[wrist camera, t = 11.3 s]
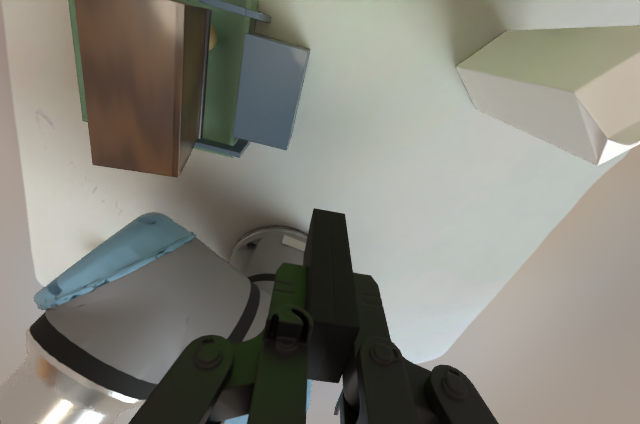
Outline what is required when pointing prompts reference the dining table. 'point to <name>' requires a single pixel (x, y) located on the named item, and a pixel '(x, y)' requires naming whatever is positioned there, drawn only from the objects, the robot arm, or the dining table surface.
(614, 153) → the milk
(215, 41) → the wooden ball
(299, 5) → the dining table surface
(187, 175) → the dining table surface
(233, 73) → the tray
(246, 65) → the stand
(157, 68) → the brown wooden box
